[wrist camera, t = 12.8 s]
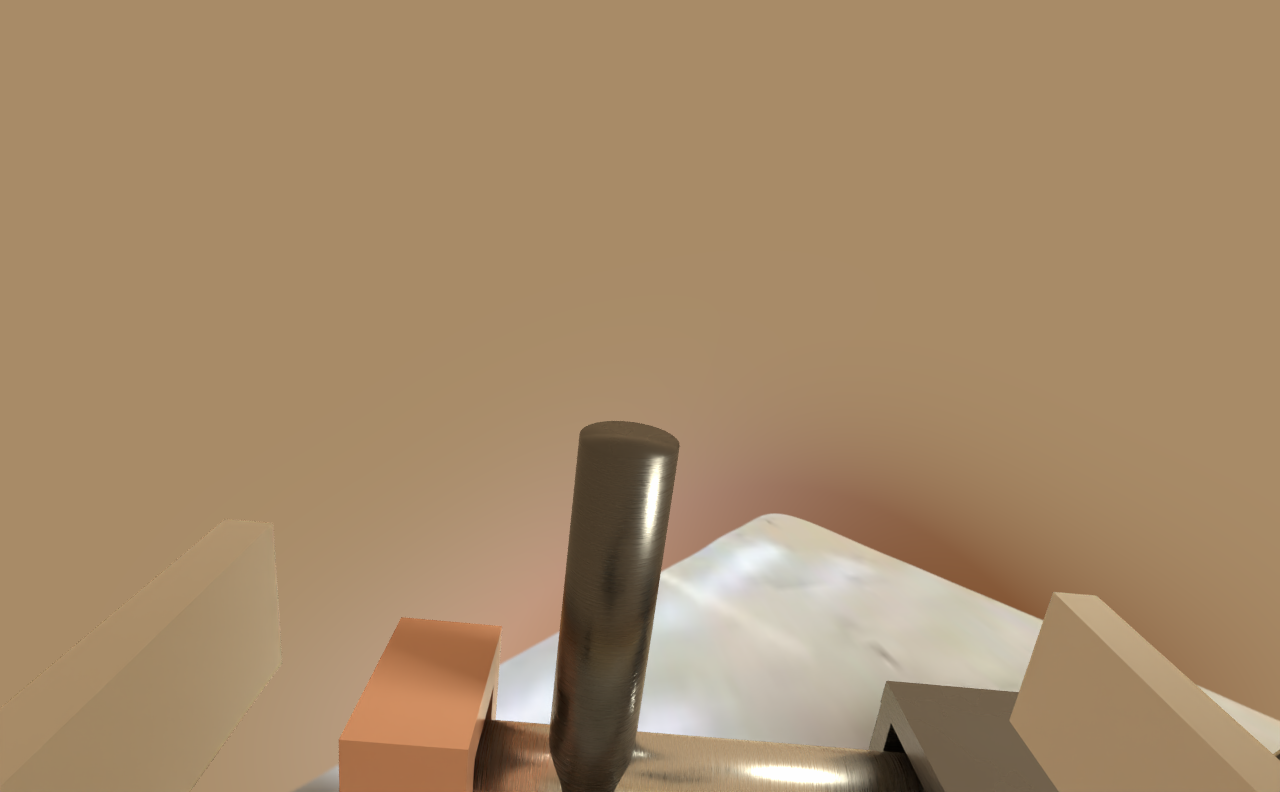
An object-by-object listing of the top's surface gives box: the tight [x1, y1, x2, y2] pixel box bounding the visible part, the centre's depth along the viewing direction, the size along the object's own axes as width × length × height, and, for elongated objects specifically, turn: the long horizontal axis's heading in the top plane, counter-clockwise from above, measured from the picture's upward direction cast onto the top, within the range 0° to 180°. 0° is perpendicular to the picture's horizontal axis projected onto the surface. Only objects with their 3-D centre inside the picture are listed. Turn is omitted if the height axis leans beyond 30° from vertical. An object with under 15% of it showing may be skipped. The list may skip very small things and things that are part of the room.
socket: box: [339, 618, 502, 792], centre depth 29 cm, size 4×7×11 cm, turn 1°
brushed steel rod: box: [472, 421, 925, 792], centre depth 28 cm, size 24×4×20 cm, turn 91°
